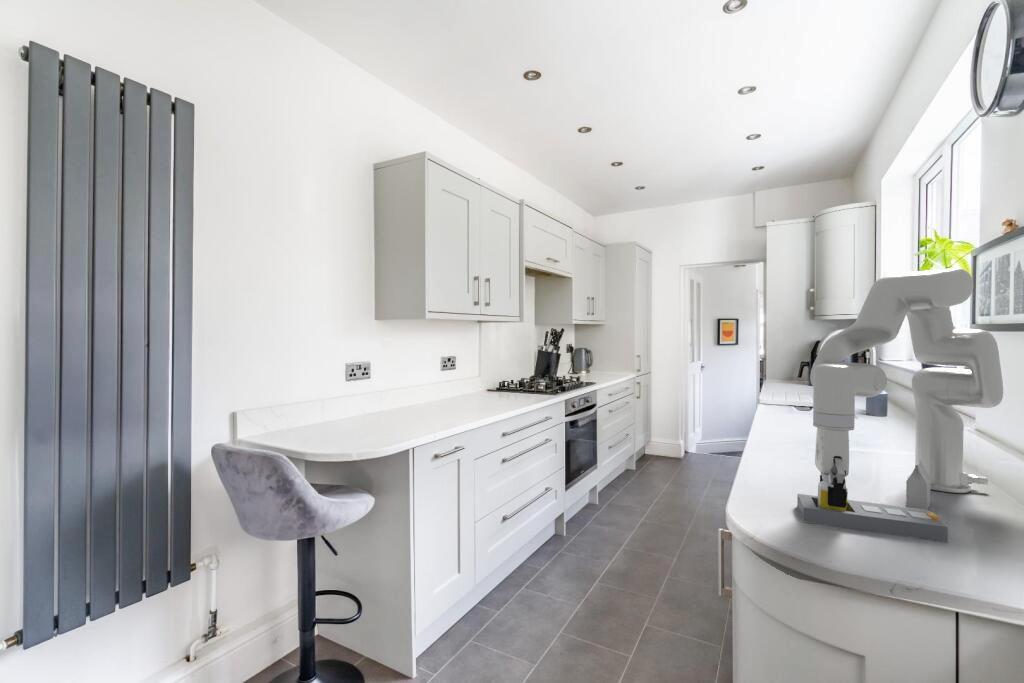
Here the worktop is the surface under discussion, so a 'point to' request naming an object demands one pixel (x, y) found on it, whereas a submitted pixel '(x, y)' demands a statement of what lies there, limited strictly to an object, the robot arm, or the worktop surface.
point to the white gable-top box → (918, 488)
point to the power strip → (875, 518)
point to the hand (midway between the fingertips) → (832, 499)
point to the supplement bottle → (824, 494)
